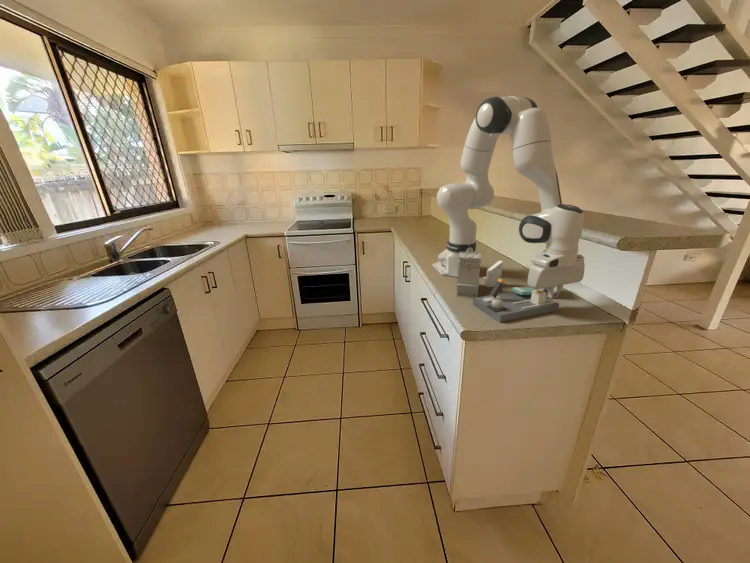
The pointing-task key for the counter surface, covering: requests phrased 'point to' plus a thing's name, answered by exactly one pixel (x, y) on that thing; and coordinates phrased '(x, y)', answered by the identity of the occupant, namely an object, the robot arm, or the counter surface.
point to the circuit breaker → (468, 274)
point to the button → (497, 303)
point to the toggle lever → (497, 288)
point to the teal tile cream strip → (523, 290)
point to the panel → (514, 306)
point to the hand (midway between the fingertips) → (552, 296)
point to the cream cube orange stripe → (538, 297)
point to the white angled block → (493, 274)
